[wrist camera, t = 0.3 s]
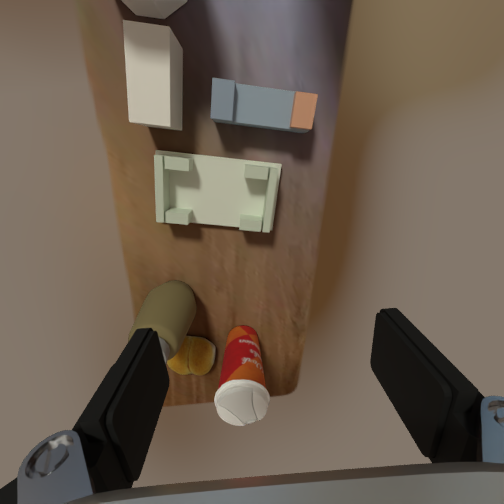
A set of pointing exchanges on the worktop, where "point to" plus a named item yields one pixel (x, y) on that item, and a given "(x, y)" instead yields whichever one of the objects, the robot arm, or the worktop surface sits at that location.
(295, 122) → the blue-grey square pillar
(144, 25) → the block
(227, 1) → the worktop surface
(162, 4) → the toilet paper
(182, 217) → the jig
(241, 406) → the paper cup
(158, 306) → the squeeze bottle
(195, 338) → the bread roll
